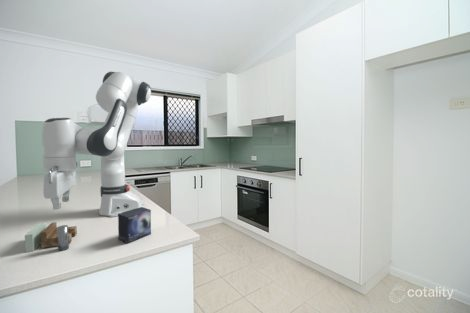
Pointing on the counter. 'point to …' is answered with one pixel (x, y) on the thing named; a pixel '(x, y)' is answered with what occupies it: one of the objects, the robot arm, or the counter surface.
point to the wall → (34, 237)
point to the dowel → (62, 237)
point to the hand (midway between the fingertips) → (61, 205)
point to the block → (54, 235)
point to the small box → (134, 224)
